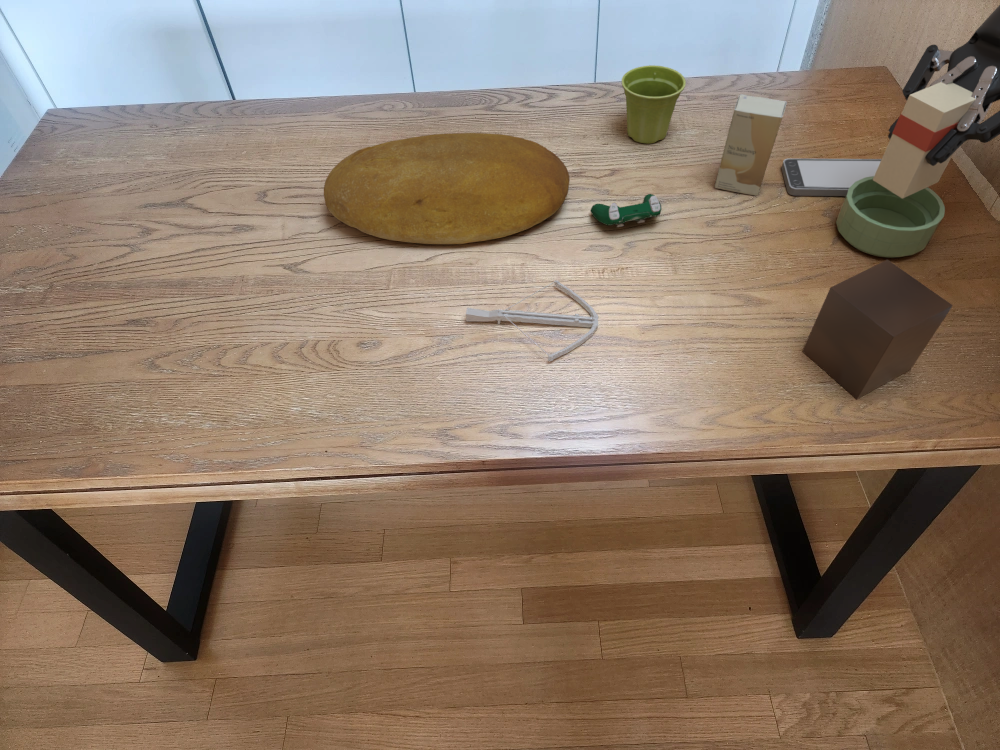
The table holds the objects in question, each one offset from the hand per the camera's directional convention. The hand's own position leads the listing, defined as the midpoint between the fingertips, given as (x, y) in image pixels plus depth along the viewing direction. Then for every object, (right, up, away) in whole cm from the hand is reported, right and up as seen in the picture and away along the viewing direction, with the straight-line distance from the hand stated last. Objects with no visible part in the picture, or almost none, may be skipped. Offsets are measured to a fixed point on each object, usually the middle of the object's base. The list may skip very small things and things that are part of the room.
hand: (910, 150), depth 77 cm
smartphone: (+1, +2, +18) cm, 18 cm away
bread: (-55, -2, +20) cm, 58 cm away
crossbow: (-44, -20, +5) cm, 48 cm away
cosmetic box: (-13, +1, +19) cm, 23 cm away
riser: (-8, -24, -2) cm, 26 cm away
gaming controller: (-30, -5, +16) cm, 34 cm away
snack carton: (+2, -2, +4) cm, 5 cm away
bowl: (+2, -7, +10) cm, 13 cm away
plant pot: (-24, +12, +29) cm, 39 cm away
